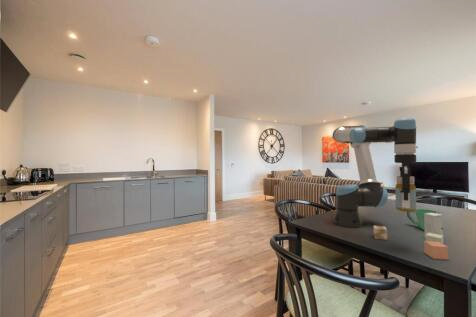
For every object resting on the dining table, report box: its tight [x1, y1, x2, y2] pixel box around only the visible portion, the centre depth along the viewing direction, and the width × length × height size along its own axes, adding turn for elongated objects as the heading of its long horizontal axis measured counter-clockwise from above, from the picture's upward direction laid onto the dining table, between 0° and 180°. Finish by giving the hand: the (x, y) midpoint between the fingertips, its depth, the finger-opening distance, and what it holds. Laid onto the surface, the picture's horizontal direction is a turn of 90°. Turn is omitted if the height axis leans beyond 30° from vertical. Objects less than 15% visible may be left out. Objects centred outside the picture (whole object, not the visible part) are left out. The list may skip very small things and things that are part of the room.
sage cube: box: [425, 233, 444, 245], centre depth 93 cm, size 5×5×5 cm
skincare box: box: [424, 212, 444, 239], centre depth 101 cm, size 6×4×12 cm
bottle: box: [395, 175, 417, 213], centre depth 92 cm, size 7×7×15 cm
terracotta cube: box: [423, 240, 449, 260], centre depth 84 cm, size 5×5×5 cm
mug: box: [406, 208, 440, 231], centre depth 116 cm, size 15×10×10 cm
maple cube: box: [373, 225, 388, 241], centre depth 104 cm, size 5×5×5 cm
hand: (405, 206), depth 93 cm, fingers closed on bottle, 6 cm apart
